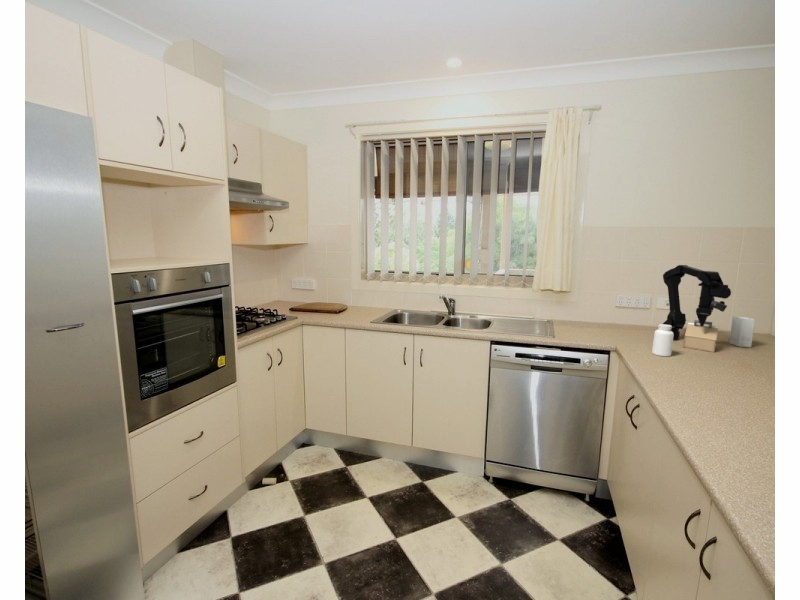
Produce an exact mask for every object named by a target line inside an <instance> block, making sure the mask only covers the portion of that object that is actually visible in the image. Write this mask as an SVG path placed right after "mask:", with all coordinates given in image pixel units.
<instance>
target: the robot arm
mask: <svg viewBox="0 0 800 600" xmlns="http://www.w3.org/2000/svg"><path fill="white" fill-rule="evenodd" d="M686 275H689V276H691V277H695V278H696V279H697V280H698V281H700V283H698V284H697V285H698V286H699V287H701V289H700V295H699V302H698V305H697V308H696V310H695V313H696V317H697V319H698V321H699V323H700V326H704V323H705V321H706V322H707V319H708V317H710V316H711V315H712V313H713V311H714V309H716V310H718V311H720V312H725V310H726V309H727V307H728V305H727V304H726V303H725V301H723V300H725V299H729V298H730V296H731V295H732V289H731V288H730V287H729V285H728V284H725V283H724V281H723V280H722V279H723V278H722V277H721V275H720V272H719V271H713V270H702V269H699V268H697V267H692V266H689V265H686V264H678V265H676V266H675V267H672V268H671V269H669V270H667V271H665V272H664V273H663V274H662V279H663V282H664V284H665V286H667V293H668V294H667V295H668V304H669V311H668V314H667V317H666V320H665V321H664V322H663V323H662V324H666V325H671V326H672V329H671V330H670V331H672V332H673V333H674V337H673V341H678V340H679V339H680V335H681V331H680V330H683V328H684V327H685V325H686V321H687V318H686V315H687V314H686V313H683V312H682V310H681V303H680V292H679V291H680V290H679V286H680V284H681V282H682V278H683V277H685V276H686ZM715 298H718V299H719V298H720V299H723V300H721V301H717V300H715Z"/></svg>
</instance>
